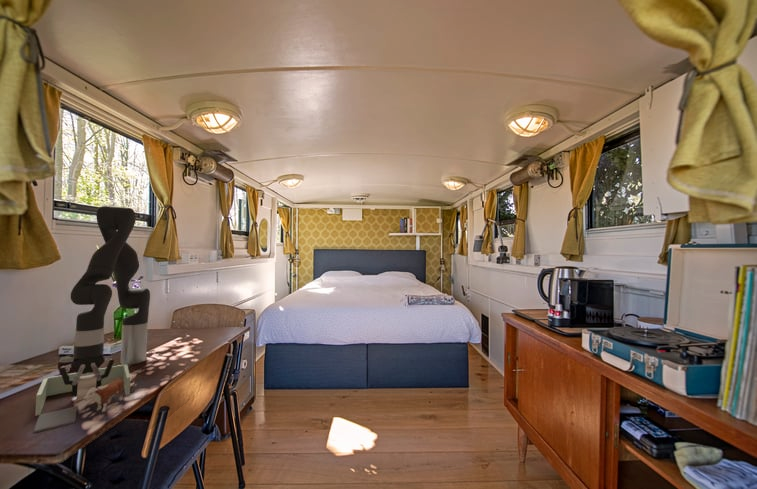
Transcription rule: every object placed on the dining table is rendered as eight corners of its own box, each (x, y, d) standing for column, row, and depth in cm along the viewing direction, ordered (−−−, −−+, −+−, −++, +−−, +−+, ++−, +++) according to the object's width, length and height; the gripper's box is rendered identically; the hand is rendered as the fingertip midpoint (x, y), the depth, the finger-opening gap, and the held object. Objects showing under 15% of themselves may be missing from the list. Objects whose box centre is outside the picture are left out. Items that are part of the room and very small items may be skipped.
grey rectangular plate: (39, 416, 92) (39, 414, 92) (77, 407, 97) (77, 406, 97) (33, 433, 83) (33, 431, 83) (75, 422, 89) (75, 420, 89)
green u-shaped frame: (42, 396, 105) (44, 378, 106) (126, 379, 120) (126, 364, 120) (35, 415, 92) (36, 395, 92) (129, 394, 107) (130, 377, 107)
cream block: (77, 396, 106) (78, 377, 106) (95, 392, 109) (96, 373, 109) (76, 400, 102) (77, 381, 102) (95, 396, 105) (96, 377, 106)
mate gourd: (52, 380, 118) (54, 341, 119) (65, 373, 126) (67, 336, 127) (77, 378, 121) (79, 339, 122) (88, 371, 128) (90, 335, 129)
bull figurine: (79, 418, 91) (80, 390, 91) (114, 398, 104) (116, 373, 105) (94, 418, 91) (96, 390, 91) (128, 398, 104) (129, 373, 105)
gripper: (116, 337, 114) (113, 384, 113) (60, 343, 104) (57, 395, 103) (117, 341, 108) (114, 390, 107) (58, 348, 99) (55, 403, 98)
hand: (86, 392), depth 105 cm, fingers closed on cream block, 4 cm apart
